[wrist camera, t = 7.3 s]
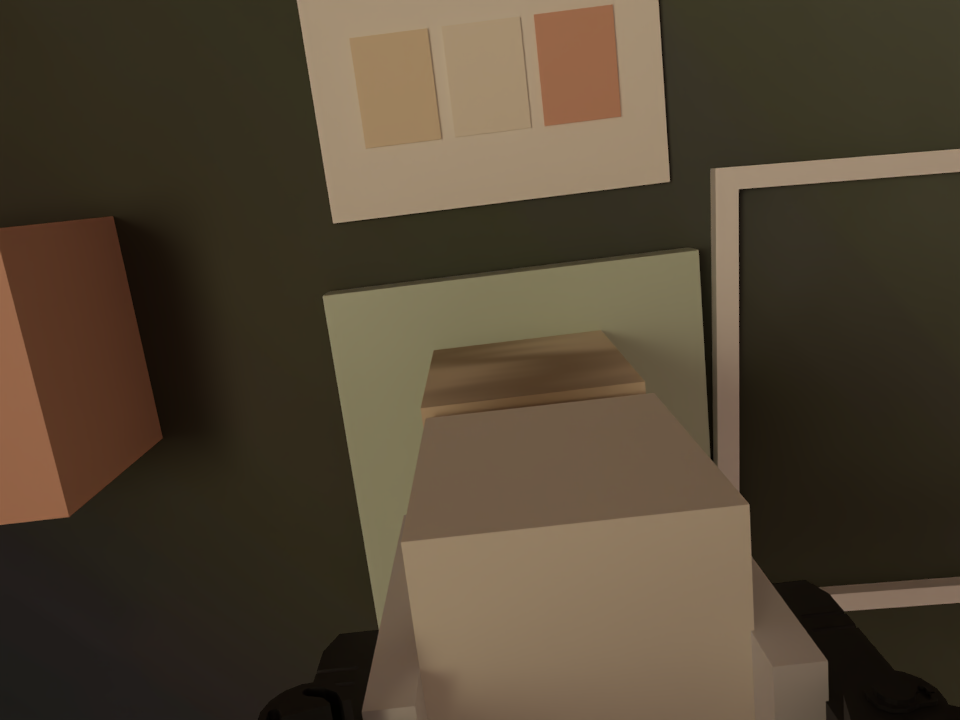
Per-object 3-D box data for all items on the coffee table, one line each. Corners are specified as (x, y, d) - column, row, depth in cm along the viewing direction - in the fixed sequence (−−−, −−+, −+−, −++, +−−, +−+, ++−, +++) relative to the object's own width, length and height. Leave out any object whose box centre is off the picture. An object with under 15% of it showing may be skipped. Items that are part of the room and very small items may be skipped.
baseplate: (382, 613, 26) (378, 630, 25) (328, 291, 24) (322, 295, 23) (708, 576, 26) (718, 591, 25) (689, 247, 24) (698, 250, 23)
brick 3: (463, 697, 19) (458, 934, 13) (425, 418, 17) (401, 542, 11) (672, 675, 18) (765, 903, 13) (653, 392, 17) (749, 504, 11)
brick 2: (463, 564, 25) (460, 683, 19) (433, 350, 23) (420, 408, 17) (620, 546, 25) (666, 660, 19) (601, 330, 23) (645, 381, 17)
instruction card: (334, 223, 23) (332, 223, 23) (293, -31, 22) (290, -33, 21) (668, 181, 23) (670, 181, 23) (651, -77, 21) (653, -81, 21)
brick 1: (9, 455, 25) (-132, 540, 19) (-50, 236, 23) (-225, 255, 18) (164, 437, 25) (69, 516, 19) (114, 215, 23) (-6, 228, 17)
